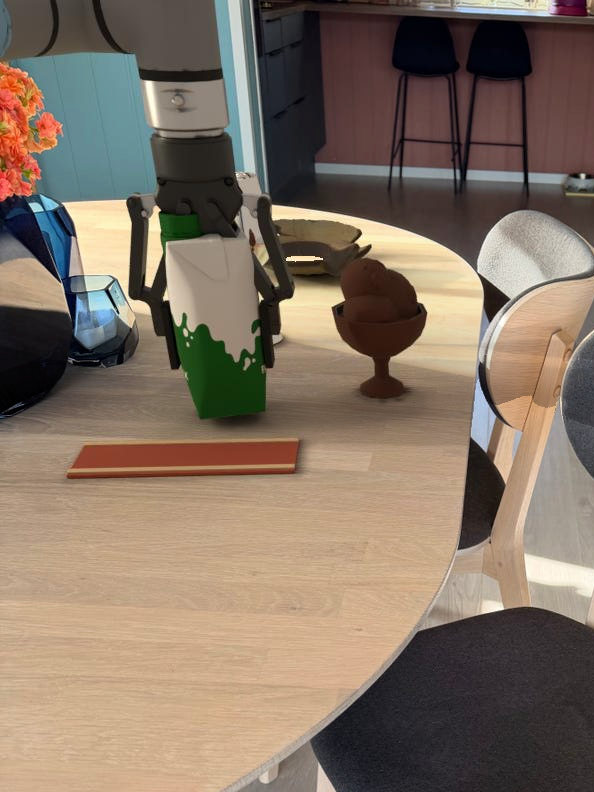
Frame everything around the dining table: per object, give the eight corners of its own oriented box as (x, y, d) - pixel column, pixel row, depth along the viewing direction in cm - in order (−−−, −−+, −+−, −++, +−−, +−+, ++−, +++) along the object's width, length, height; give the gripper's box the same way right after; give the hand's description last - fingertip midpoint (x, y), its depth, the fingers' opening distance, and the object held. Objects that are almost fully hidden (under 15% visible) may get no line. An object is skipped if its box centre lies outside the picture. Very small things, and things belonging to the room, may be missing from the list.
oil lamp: (359, 247, 166) (357, 200, 161) (388, 295, 143) (386, 242, 138) (231, 252, 161) (225, 204, 157) (240, 303, 138) (233, 248, 133)
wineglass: (212, 340, 124) (187, 176, 112) (254, 326, 129) (235, 167, 118) (253, 353, 121) (232, 184, 109) (295, 337, 126) (280, 175, 114)
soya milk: (184, 394, 105) (150, 203, 94) (264, 386, 108) (241, 199, 96) (191, 424, 99) (157, 223, 87) (277, 414, 101) (254, 217, 90)
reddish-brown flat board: (67, 478, 91) (65, 474, 91) (87, 444, 97) (86, 440, 97) (294, 473, 93) (294, 469, 93) (299, 439, 99) (299, 435, 99)
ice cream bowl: (381, 415, 105) (375, 277, 96) (318, 388, 111) (307, 257, 102) (446, 390, 111) (446, 259, 103) (383, 367, 117) (378, 241, 109)
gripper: (58, 136, 83) (112, 378, 97) (305, 138, 85) (324, 375, 99) (79, 124, 90) (127, 354, 103) (309, 126, 91) (327, 351, 105)
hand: (223, 364), depth 101 cm, fingers closed on soya milk, 9 cm apart
